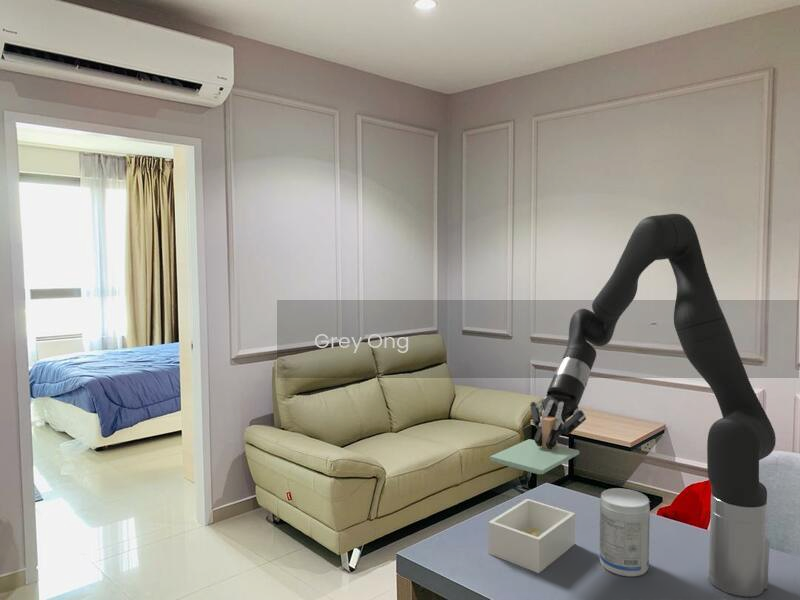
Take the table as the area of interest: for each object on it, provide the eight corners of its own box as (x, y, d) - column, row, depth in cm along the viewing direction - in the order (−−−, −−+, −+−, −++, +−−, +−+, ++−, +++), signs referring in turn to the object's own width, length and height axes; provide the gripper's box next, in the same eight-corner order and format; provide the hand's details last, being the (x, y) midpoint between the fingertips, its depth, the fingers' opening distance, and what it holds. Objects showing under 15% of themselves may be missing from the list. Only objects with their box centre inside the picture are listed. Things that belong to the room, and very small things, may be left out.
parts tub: (526, 527, 139) (527, 498, 139) (574, 544, 131) (575, 513, 131) (488, 553, 127) (488, 521, 127) (538, 573, 119) (539, 539, 119)
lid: (528, 445, 139) (529, 412, 138) (579, 457, 130) (579, 421, 130) (489, 463, 127) (490, 426, 126) (542, 478, 118) (542, 438, 118)
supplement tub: (615, 549, 129) (616, 483, 127) (657, 567, 121) (659, 497, 120) (589, 564, 122) (590, 495, 121) (632, 584, 115) (634, 510, 114)
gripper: (537, 368, 141) (509, 430, 133) (592, 376, 132) (566, 443, 124) (547, 386, 146) (521, 448, 138) (602, 395, 136) (577, 461, 128)
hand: (543, 445), depth 131 cm, fingers closed on lid
